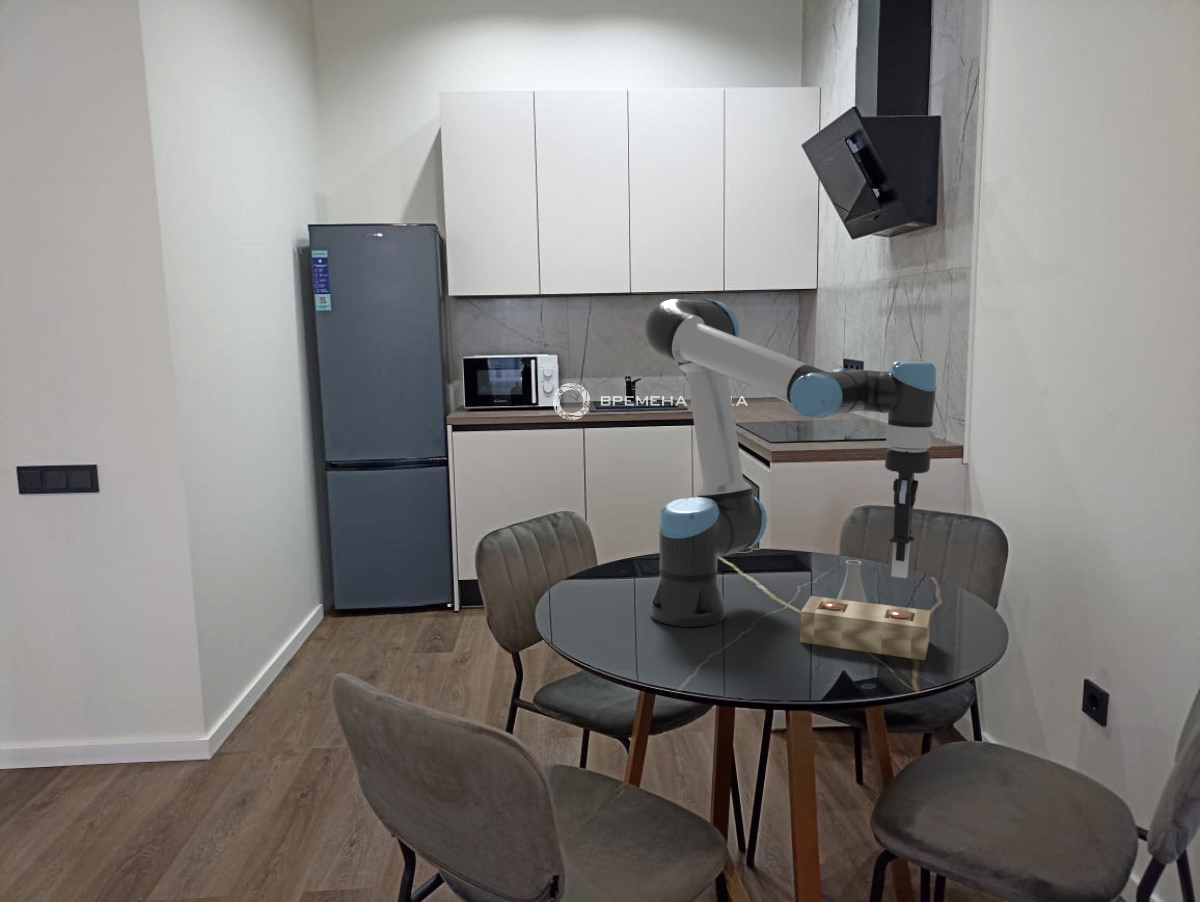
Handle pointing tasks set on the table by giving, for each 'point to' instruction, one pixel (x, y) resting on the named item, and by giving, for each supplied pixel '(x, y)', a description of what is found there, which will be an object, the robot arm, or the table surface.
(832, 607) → the peg left
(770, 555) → the table surface
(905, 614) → the peg right
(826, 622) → the oak block
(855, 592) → the flask
